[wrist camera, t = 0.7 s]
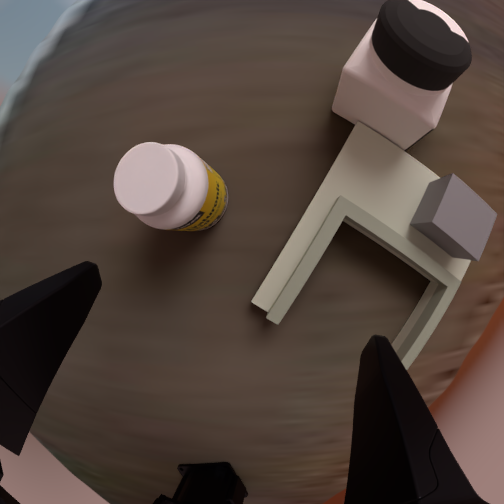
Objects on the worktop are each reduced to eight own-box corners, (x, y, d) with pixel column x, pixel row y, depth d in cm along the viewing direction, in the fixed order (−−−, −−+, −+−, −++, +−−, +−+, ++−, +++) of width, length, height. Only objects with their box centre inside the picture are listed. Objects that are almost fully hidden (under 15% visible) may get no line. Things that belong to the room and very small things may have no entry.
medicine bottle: (400, 156, 21) (474, 100, 9) (329, 111, 22) (353, 21, 10) (426, 100, 21) (489, 34, 9) (362, 59, 21) (392, -28, 9)
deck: (390, 376, 22) (410, 407, 17) (253, 297, 24) (242, 315, 18) (478, 220, 20) (514, 218, 15) (353, 127, 22) (369, 99, 16)
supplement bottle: (202, 244, 24) (147, 250, 14) (157, 205, 24) (87, 191, 15) (243, 192, 23) (211, 163, 14) (194, 155, 24) (141, 113, 14)
